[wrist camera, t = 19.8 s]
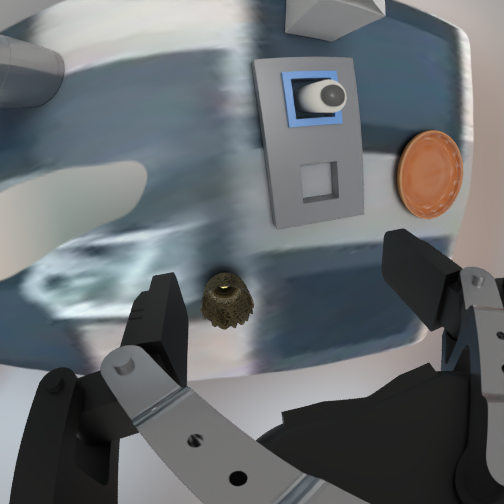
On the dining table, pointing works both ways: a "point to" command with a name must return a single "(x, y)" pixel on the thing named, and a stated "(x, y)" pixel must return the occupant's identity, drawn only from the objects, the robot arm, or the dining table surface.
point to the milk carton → (330, 17)
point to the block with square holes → (309, 140)
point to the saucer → (430, 174)
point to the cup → (226, 301)
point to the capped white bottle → (320, 97)
